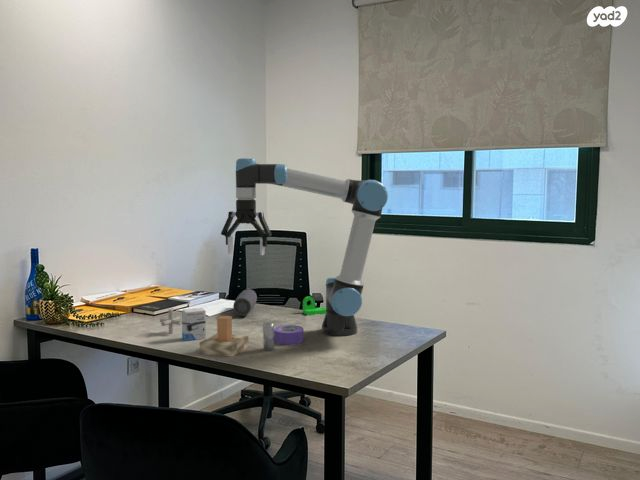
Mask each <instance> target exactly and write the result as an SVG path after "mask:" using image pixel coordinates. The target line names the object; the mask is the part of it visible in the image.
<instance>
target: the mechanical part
mask: <svg viewBox="0 0 640 480" xmlns="http://www.w3.org/2000/svg"><path fill="white" fill-rule="evenodd" d="M308 302H310V304H308ZM302 314H304V315H305V314H306V316H307V315H308V316H316V315H315V314H320V315H325V314H326V306H324V307H323V306H322V307H316V301H315V299H314V298H313V297H312V296H305V297H303V300H302Z"/></svg>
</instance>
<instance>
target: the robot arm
mask: <svg viewBox="0 0 640 480" xmlns="http://www.w3.org/2000/svg"><path fill="white" fill-rule="evenodd" d="M256 184H258V185H261V184H263V185H264V184H268V185H274V186H279V187H285V188H289V189H294V190H299V191H303V192H309V193H311V194H312V193H313V194H316V195H322V196H326V197H332V198H336V199H341V201H342V202H343V203H348V204H351V205H352V207H351V212H352V214H353V219H352V224H351V227H350V231H349V235H348V241H347V245H346V249H345V253H344V258H343V260H342V265H341V270H340V272H339V275H337V276H335V277H327V279H326V283H325V293H326V295H325V307H326V314H324V317H323V321H322V324H321V333H323V334H325V335H329V336H340V337H341V336H351V335H355V334H357V333H358V323H357V320H356V317H355V314H357V313H358V312H359V311H360V309H361V307H362V305H363V296H362V294H363V290H364V286H365V283H364V281H363V280H362V277H363V273H364V269H365V265H366V262H367V257H368V253H369V249H370V245H371V241H372V236H373V233H374V228H375V224H376V221H377V220H378V219H381V217H382V212H383V208H384V207H385V205H386V204H387V202H388V197H389V194H388V190H387V188H386V186H385V185H384V184H383V183H382V182H380V181H378V180H376V179H364V180H363V179H361V180H356V179H349V178H347V179H345V180H343V179H337V178H333V177H329V176H325V175H321V174H320V175H319V174H314V173H310V172H306V171H301V170H297V169H291V168H289V167H287V165H286V164H282V163H263V164H262V163H257V161H256V159H255V158H247V157H246V158H242V157H241V158H238V159H236V161H235V198H236V200H235V210H236V211H233V210H231V211H228V212H227V213H228V214H227V215H228V216H227V218H226V221H225V223H224V225H223V228H222V230H221V232H220V235H222V236H224V237H225V245H226V246H227V255H230V254H233V242H234V241H233V239H234V238H233V236H232V235H233V233H234V232H235V230H237V229H238V227H239V226H240V225H241V224H247V225H248V224H249V225H250V224H251V225H252V226H253V227H254V229H255V230H256V232H257V233H258V234H259V235H260V237H261V238H259V250H260V251H259V254H260V256H264V255H265V254H266V251H265V250H266V248H265V247H267V245H268V237H272V232H271V229H270V228H269V225H268V223H267V221H266V219H265V213H264V211H260V212H256V209H257V202H256V201H257V200H255V199H256V197H257V191H256V190H257V187H256ZM235 217H236V219H235V221H234V223H233V224H232V222H233V220H234V218H235ZM256 217H257V218H258V220H259V223H260V224H259V223H258V220H257V219H256ZM231 225H232V226H231Z"/></svg>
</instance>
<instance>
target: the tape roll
mask: <svg viewBox="0 0 640 480" xmlns="http://www.w3.org/2000/svg"><path fill="white" fill-rule="evenodd" d="M304 340H305V339H304V328H303V327H302V326H299V325H295V324H284V325H278V326H274V343H276V344H278V345H285V346H286V345H287V346H289V345H297V344H302V343H303V342H304Z"/></svg>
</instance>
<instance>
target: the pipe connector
mask: <svg viewBox="0 0 640 480" xmlns="http://www.w3.org/2000/svg"><path fill="white" fill-rule="evenodd" d="M159 322H160V325H161V326H162V327H165V326H168V334H169V335H173V334H174V325H178V326H182V320H181V317H180V316H176V317H174V309H173V308H171V309H170V308H169V309H168V318H163V317H160V319H159Z"/></svg>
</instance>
